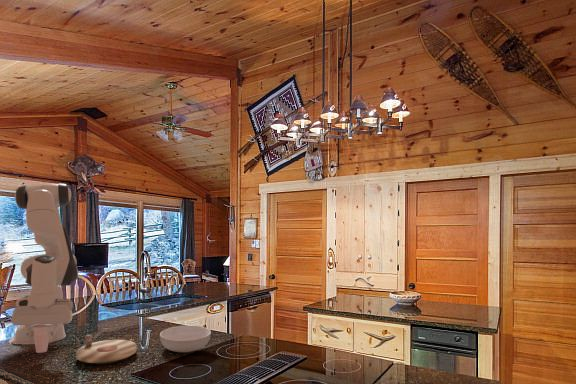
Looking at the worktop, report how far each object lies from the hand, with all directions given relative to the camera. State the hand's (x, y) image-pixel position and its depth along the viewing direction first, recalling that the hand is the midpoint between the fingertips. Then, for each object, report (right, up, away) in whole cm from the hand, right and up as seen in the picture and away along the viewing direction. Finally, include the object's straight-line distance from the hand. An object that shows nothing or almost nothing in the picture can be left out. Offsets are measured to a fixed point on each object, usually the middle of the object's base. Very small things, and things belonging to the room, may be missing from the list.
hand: (42, 335), depth 164 cm
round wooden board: (+23, -8, +5) cm, 25 cm away
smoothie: (0, -6, 0) cm, 6 cm away
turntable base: (+23, -10, +5) cm, 25 cm away
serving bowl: (+51, -11, +16) cm, 55 cm away
